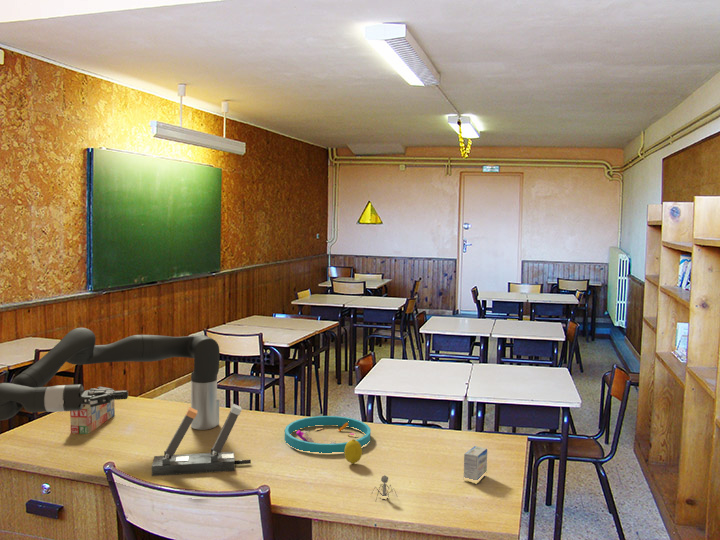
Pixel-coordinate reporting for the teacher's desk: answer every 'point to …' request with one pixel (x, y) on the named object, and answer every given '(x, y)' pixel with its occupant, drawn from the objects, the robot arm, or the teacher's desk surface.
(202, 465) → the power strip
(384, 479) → the bacteriophage
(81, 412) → the stack of blocks
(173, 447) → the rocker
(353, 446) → the lemon
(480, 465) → the medicine box
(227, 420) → the lever
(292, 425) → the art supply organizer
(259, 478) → the teacher's desk surface
